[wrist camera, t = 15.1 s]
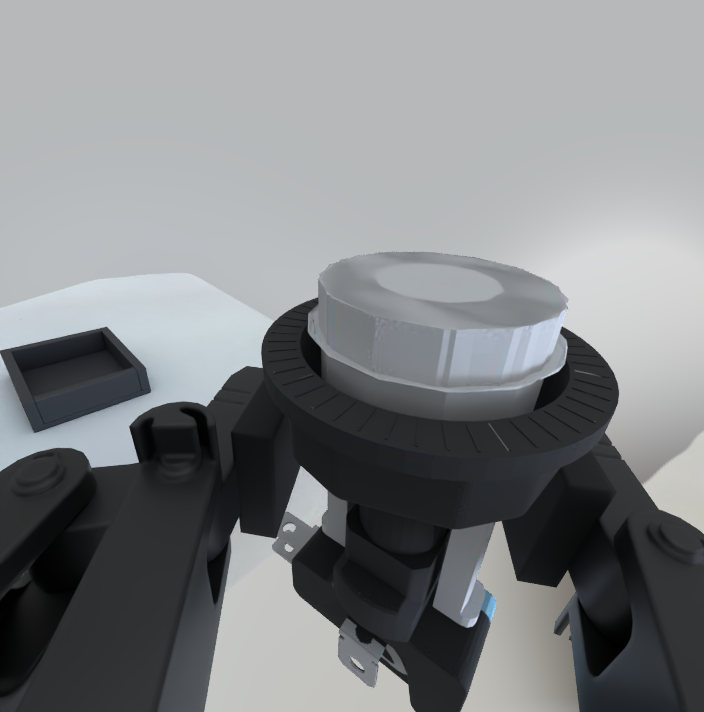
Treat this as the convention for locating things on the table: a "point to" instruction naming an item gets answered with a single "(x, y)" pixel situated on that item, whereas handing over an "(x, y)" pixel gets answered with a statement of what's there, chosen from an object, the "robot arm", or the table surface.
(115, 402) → the tray
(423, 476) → the push button
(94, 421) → the table surface
